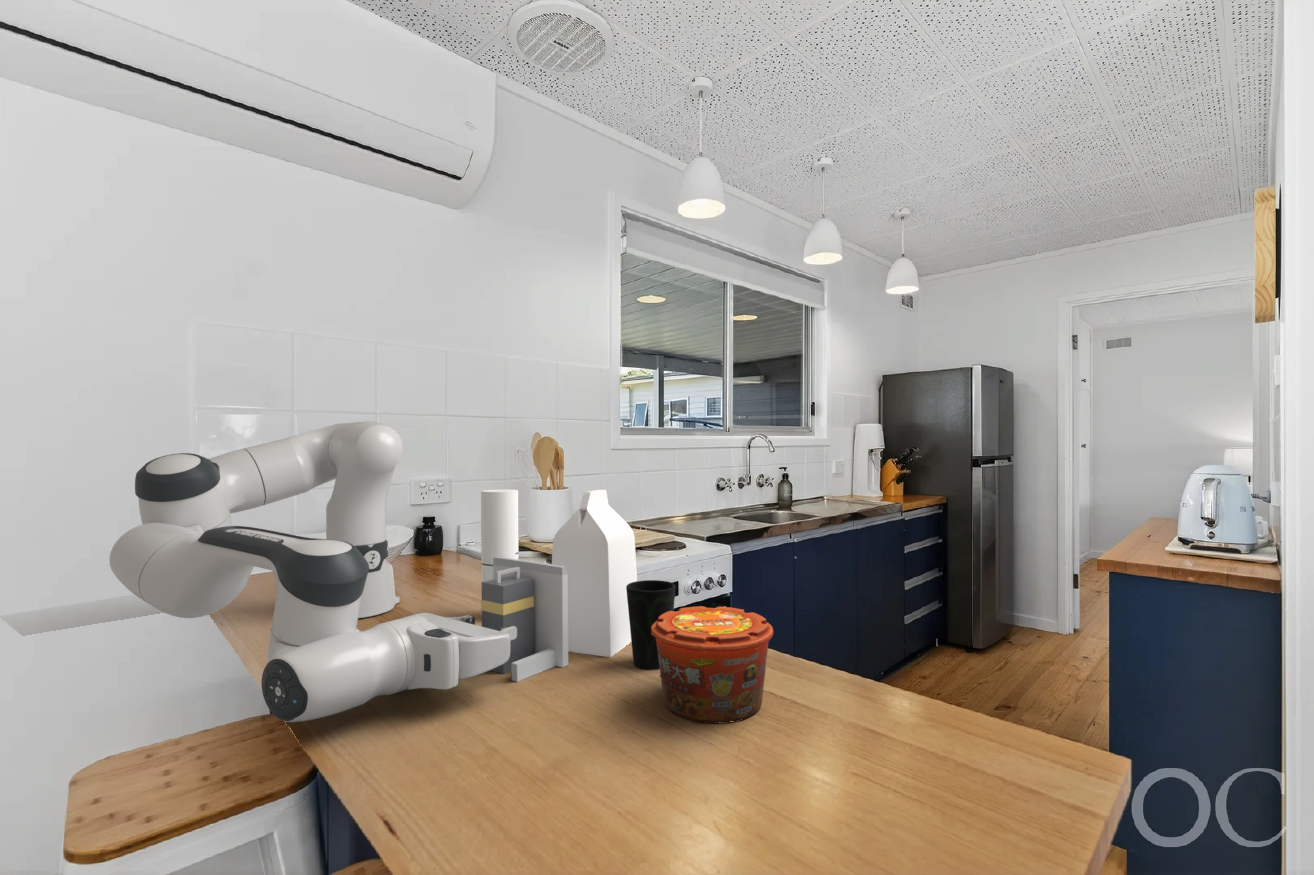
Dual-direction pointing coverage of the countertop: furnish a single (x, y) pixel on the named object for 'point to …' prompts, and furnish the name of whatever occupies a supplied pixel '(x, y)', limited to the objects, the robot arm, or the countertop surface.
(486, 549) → the cylindrical container
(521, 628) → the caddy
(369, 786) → the countertop surface
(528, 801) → the countertop surface
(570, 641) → the milk
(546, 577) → the dock
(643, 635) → the cup
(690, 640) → the food container
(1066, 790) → the countertop surface
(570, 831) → the countertop surface
